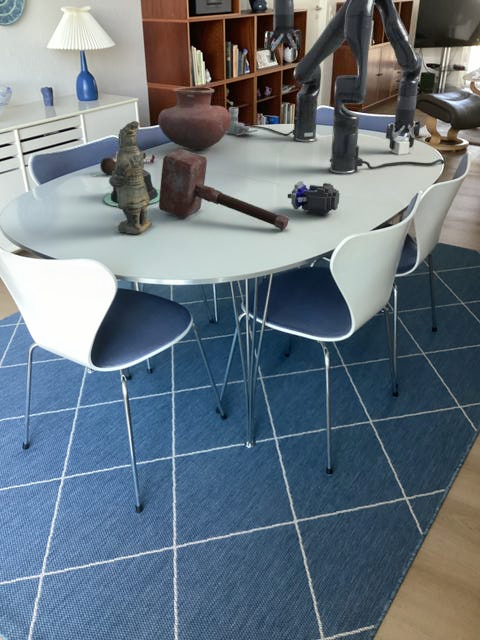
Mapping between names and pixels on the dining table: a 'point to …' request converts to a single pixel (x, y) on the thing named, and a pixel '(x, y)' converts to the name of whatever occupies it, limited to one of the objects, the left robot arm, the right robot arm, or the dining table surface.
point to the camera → (237, 124)
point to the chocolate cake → (152, 192)
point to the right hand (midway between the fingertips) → (282, 60)
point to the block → (401, 147)
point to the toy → (315, 198)
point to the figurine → (109, 163)
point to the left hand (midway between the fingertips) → (401, 148)
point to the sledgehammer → (200, 190)
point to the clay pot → (194, 119)
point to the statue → (131, 182)
